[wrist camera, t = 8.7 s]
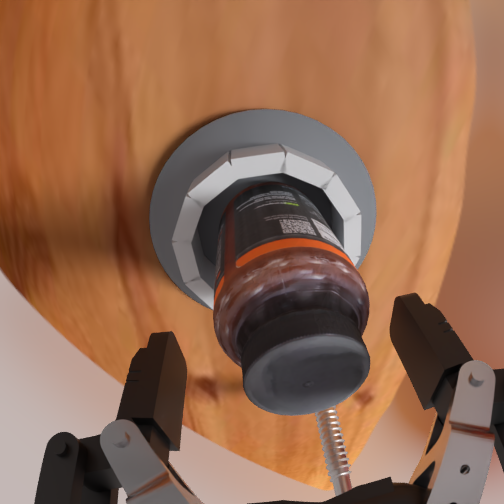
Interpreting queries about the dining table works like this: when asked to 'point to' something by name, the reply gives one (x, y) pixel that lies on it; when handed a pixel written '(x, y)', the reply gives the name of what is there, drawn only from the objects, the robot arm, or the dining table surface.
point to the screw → (334, 450)
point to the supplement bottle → (288, 302)
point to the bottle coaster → (250, 173)
